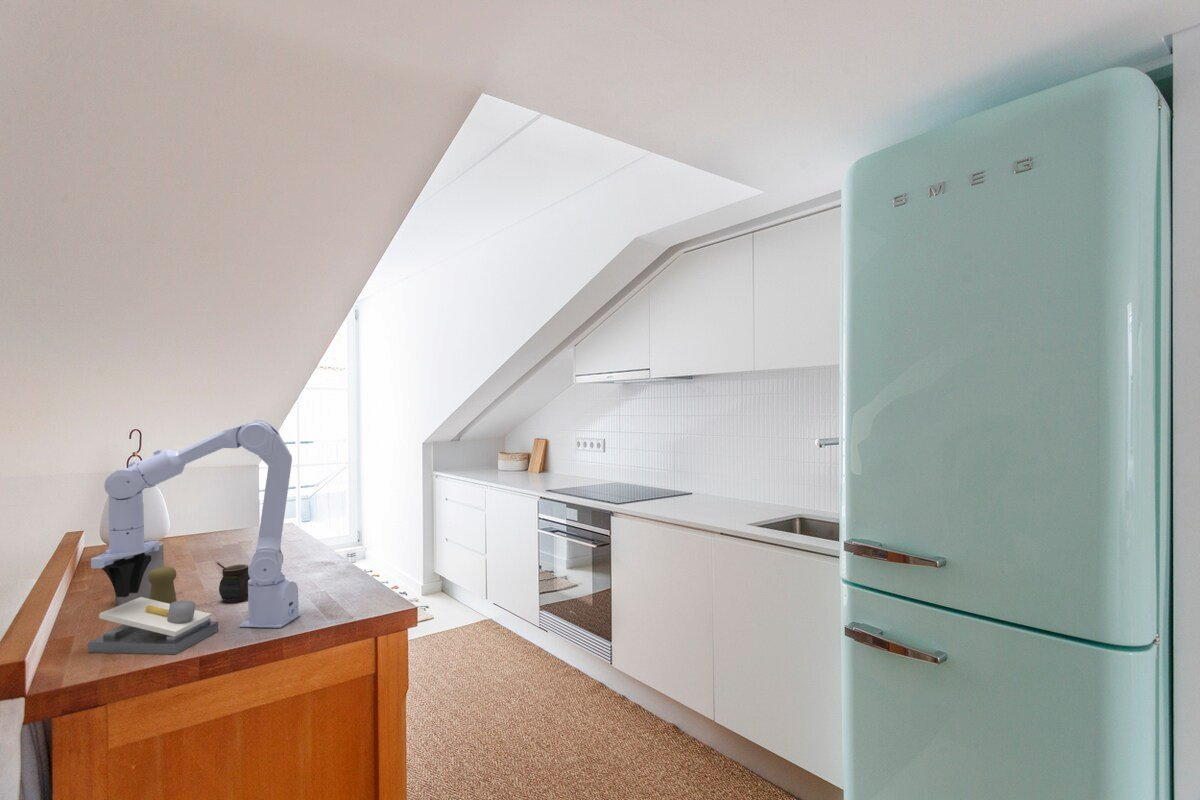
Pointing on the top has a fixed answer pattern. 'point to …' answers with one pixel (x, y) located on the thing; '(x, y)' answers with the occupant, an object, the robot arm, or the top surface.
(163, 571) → the cork
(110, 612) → the plate
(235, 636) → the top surface
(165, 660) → the top surface
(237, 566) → the mate gourd
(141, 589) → the pillar candle
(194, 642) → the grey rectangular base
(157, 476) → the robot arm
